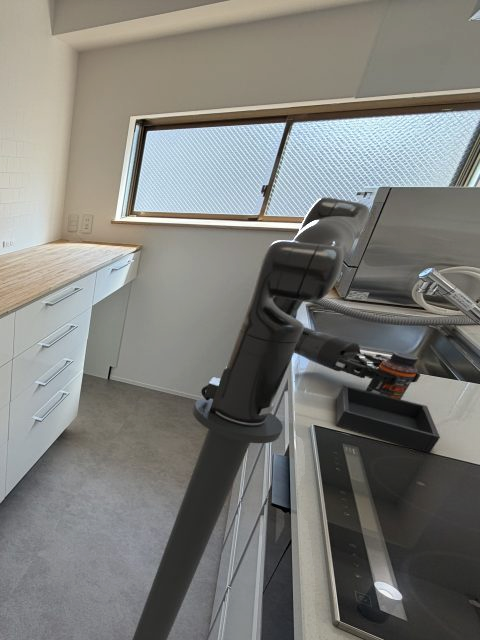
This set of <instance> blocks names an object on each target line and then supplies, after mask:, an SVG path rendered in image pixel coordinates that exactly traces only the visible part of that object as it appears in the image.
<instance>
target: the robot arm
mask: <svg viewBox="0 0 480 640" xmlns="http://www.w3.org/2000/svg"><path fill="white" fill-rule="evenodd" d="M370 213H371V211H370V207H369V206H368V205H366V204H364V203H361V202H356V201H351V200H345V199H339V198H335V197H334V198H333V197H321V198H319V199H317V200H316V202H314V204H313V205H312V206H311V207H310V208H309V211H308V212H307V214H306V215H305V217H304V220H303V221H302V223H301V225H300V228H299V231H298V233H297V235H296V236H295V237H294V239H293V240H276V241H274V242H272V243H271V244H270V245H269V247H268V248H267V249H266V251H265V253H264V254H263V257H262V259H261V262H260V265H259V268H258V270H257V273H256V277H255V281H254V284H253V289H252V292H251V295H250V299H249V301H248V304H247V307H246V310H245V313H244V316H243V319H242V321H241V324H240V327H239V329H238V332H237V336H236V338H235V341H234V344H233V347H232V350H231V352H230V355H229V358H228V359H227V360H228V361H227V363H226V366H225V368H224V369H223V371H222V374H221V376H220V378H219V377H217V376H216V377H215V376H213V377H212V378H211V380H209V382H208V384H207V385H205V386H203V387H202V388H201V391H200V393H201V395H202V398H203V397H204V398H205V399H206V400H210V398H211V399H213V402H212V405H211V408H210V410H209V412H210V413H213V414H216V415H217V416H218V417H220V418H222V419H224V420H226V421H228V422H231V423H234V424H237V425H242V426H248V427H258V426H261V425H263V424H264V423H265V421H266V417H267V415H268V413H272V412H273V410H274V408H275V405H273V403H274V400H275V398H276V396H277V394H278V391H279V389H280V386H281V384H282V382H283V379H284V378H285V375H286V373H287V370H288V367H289V366H290V363H291V361H292V358H293V356H294V354H296V355H298V356H301V357H303V358H305V359H307V360H308V361H310V362H312V363H315V364H318V365H321V366H323V367H326V368H328V369H330V370H333V371H336V372H343V373H346V374H350V375H352V376H356V377H357V378H360V379H365V378H367V379H370V380H372V379H373V378H374V379H377V380H379V381H382V382H385V383H387V384H390V385H395V384H396V383H397V382H398V380H399V378H400V377H399V376H398V375H395V374H393V373H390V372H387V371H385V370H382V369H379V368H378V367H379V366H380V364H381V363H382V362H383V361H385V360H389V359H390V358H391V357H387V356H384V355H382V354H376V355H373V354H370V353H366V352H364V353H362V352H361V347H360V345H359V344H358V343H357V342H354V341H352V340H348V339H345V338H342V337H339V336H336V335H333V334H330V333H326V332H321V331H318V330H315V329H312V328H309V327H306V326H304V324H303V323H302V322H301V321H299V320H298V319H297V316H298V310H299V309H300V307H301V305H302V304H303V302H305V303H306V302H307V303H311V302H313V303H314V302H318V301H320V300H322V299H324V298H325V297H326V296H327V295H328V294H329V293H330V292H331V291H332V289H333V288H334V286H335V285H336V283H337V281H338V280H339V278H340V275H341V272H342V269H343V265H344V261H345V259H346V258H347V256H348V255H349V254H350V252H351V250H352V248H353V246H354V245H355V241H356V239H357V238H358V236H360V235H361V233H362V232H363V230H364V228H365V227H366V225H367V223H368V221H369V218H370ZM378 369H379V370H378ZM420 377H421V374H420V372H417V373H416V375H415V376H414V378H413V380H412V382H411V383H416V382H418V380H419V379H420Z"/></svg>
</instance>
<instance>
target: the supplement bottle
mask: <svg viewBox="0 0 480 640" xmlns="http://www.w3.org/2000/svg"><path fill="white" fill-rule="evenodd" d="M389 358H390V359H389V360H385V361H383V362H382V363H381V364H380V366H379V367H377V368H379V369H382V370H385V371H387V372H390V373H393V374H395V375H398V376H399V377H400V378H399V380H398V382H397V383H396V384H395V385H390V384H387V383H385V382H382V381H379V380H377V379H374V378H373V379H370V381H369V384H368V385H367V387H366V389H365V391H368V392H372V393H377V394H381V395H385V396H389V397H393V398H397V399H401V400H402V398H403V397H404V394H405V393H406V391H407V390H408V388H409V387H410V385H411V383H413V382H412V380H413V378H414V376H415V375H416V373H418V369H417V367H416V366H415V365H416V364H417V362H418V360H419V358H418V356H416V355H415V354H410V353H408V352H402V351H394V352H392V354H391V356H390V357H389ZM379 369H378V370H379Z"/></svg>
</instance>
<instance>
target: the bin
mask: <svg viewBox="0 0 480 640" xmlns="http://www.w3.org/2000/svg"><path fill="white" fill-rule="evenodd" d="M335 403H336V404H335V405H336V407H335V408H336V409H335V411H336V412H335V413H336V414H335V426H336V427H339V428H341V429H345V430H349V431H351V432H352V431H353V432H356V433H360V434H363V435H366V436H370V437H373V438H377V439H379V440H380V439H381V440H384V441H387V442H390V443H393V444H396V445H400V446H404V447H408V448H411V449H414V450H417V451H421V452H425V453H428V454H430V453H431V452H432V450H433V449H434V447H435V446H436V444H437V443H438V442H439V440H440V438H441V436H440V433H439V431H438V429H437V427H436V425H435V422H434V420H433V417H432V415H431V412H430V410H429V407H428V405H425V404H421V403H418V402H417V403H416V402H413V401H410V400H404V399H402V398H401V399H397V398H393V397H389V396H385V395H381V394H377V393H372V392H368V391H366V390H363V389H360V388H357V387H351V386H347V385H345V384H343V385H342V387H341V389H340V391H339V392H338V394H337V396H336V402H335Z"/></svg>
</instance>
